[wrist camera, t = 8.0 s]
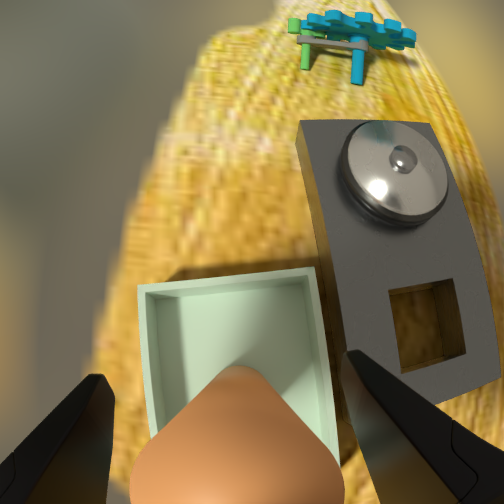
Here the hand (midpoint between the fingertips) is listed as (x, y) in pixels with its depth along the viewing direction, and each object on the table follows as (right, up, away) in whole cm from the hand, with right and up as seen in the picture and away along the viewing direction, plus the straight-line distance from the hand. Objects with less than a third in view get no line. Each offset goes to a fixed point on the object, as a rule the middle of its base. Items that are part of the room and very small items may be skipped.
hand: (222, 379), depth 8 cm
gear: (+9, +21, +18) cm, 29 cm away
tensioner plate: (+10, +3, +11) cm, 15 cm away
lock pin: (0, -4, +8) cm, 9 cm away
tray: (0, -4, +9) cm, 10 cm away
